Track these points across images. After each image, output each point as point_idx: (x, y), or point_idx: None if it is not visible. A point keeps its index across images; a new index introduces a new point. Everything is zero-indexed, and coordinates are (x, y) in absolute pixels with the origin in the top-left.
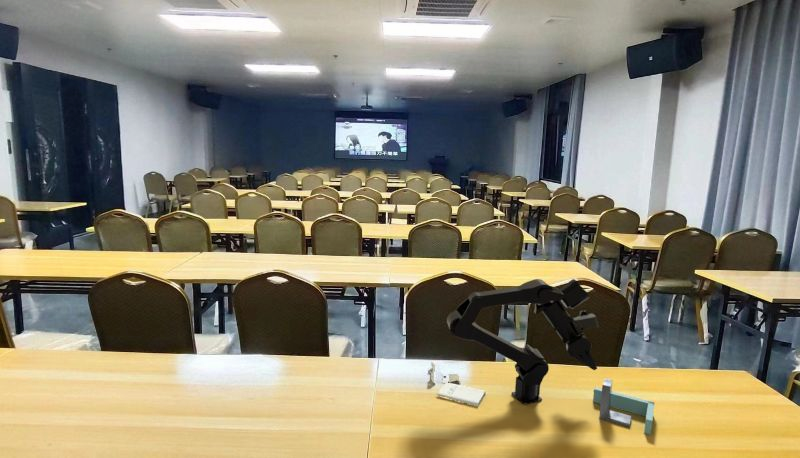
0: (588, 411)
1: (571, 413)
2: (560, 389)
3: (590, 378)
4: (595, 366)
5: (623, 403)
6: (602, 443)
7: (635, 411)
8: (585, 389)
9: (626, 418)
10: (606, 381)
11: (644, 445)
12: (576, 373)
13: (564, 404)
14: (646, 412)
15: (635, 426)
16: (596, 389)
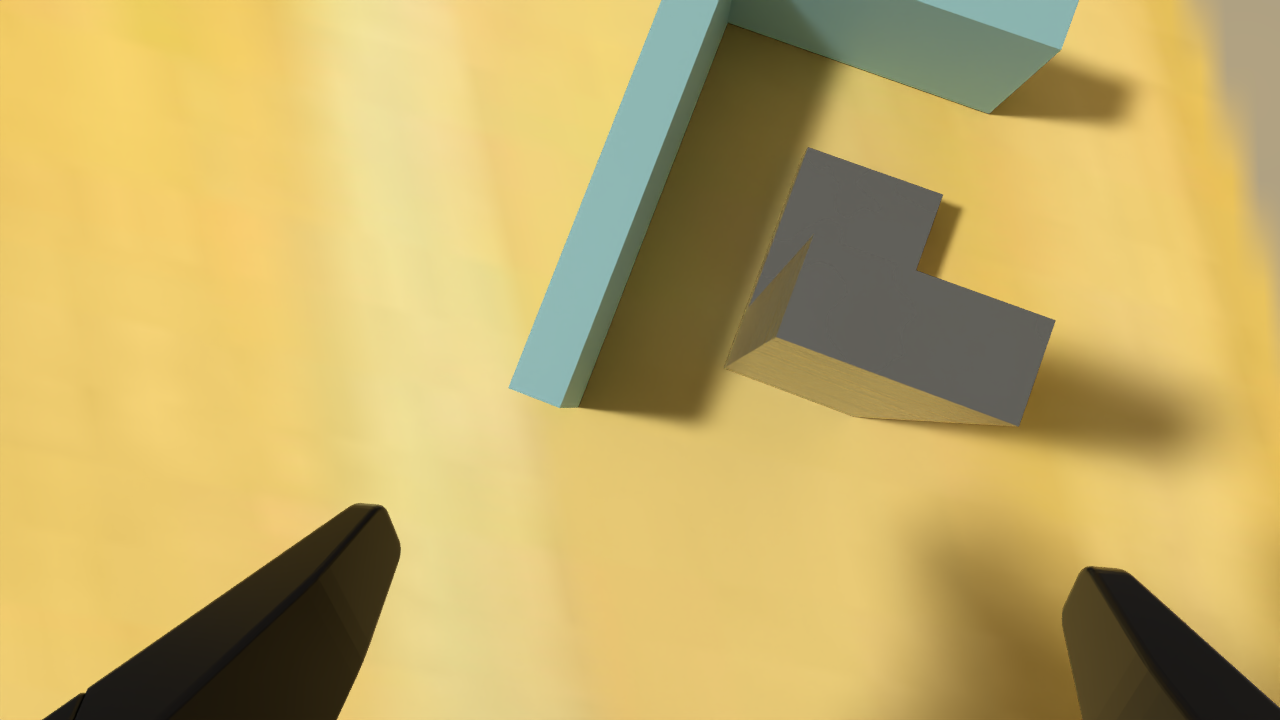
0: (753, 481)
1: (822, 638)
2: (403, 662)
3: (127, 332)
4: (1171, 631)
5: (664, 163)
6: (1225, 474)
7: (698, 90)
8: (357, 425)
9: (858, 198)
10: (893, 340)
11: (1163, 160)
12: (43, 446)
13: (679, 673)
14: (729, 5)
15: (902, 152)
16: (560, 384)
